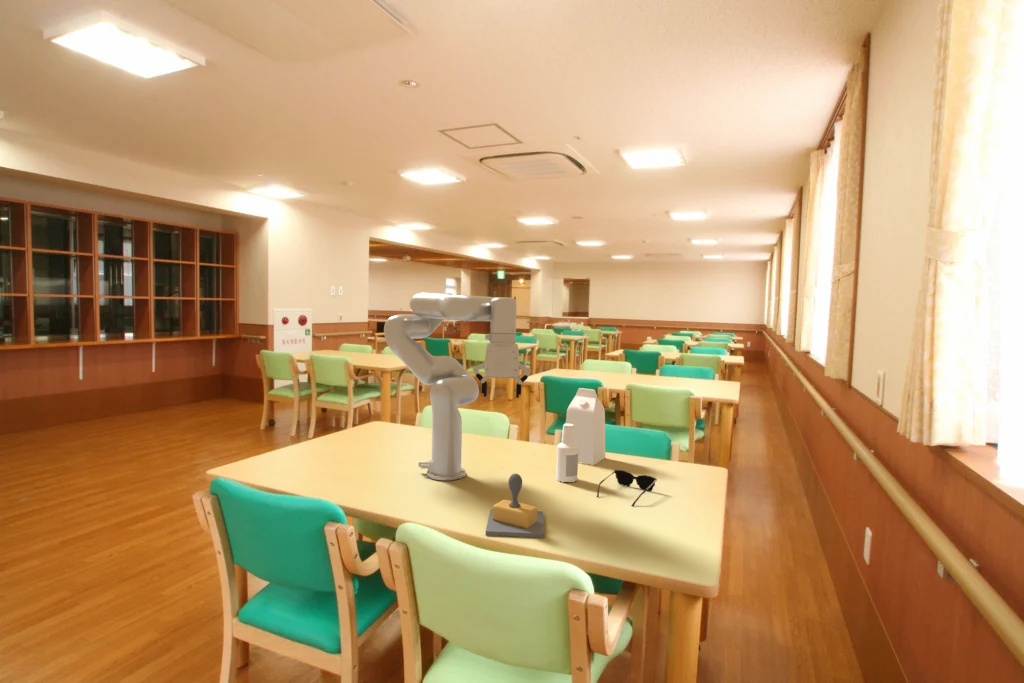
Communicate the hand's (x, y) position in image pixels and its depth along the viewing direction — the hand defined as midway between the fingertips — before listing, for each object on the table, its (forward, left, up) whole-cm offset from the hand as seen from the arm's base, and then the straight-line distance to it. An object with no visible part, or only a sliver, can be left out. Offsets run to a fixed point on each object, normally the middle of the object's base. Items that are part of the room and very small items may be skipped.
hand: (501, 396), depth 156 cm
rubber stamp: (+6, -25, -28) cm, 38 cm away
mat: (+6, -25, -28) cm, 38 cm away
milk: (+29, +37, -28) cm, 55 cm away
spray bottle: (+21, +12, -28) cm, 37 cm away
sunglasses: (+38, +1, -29) cm, 48 cm away
